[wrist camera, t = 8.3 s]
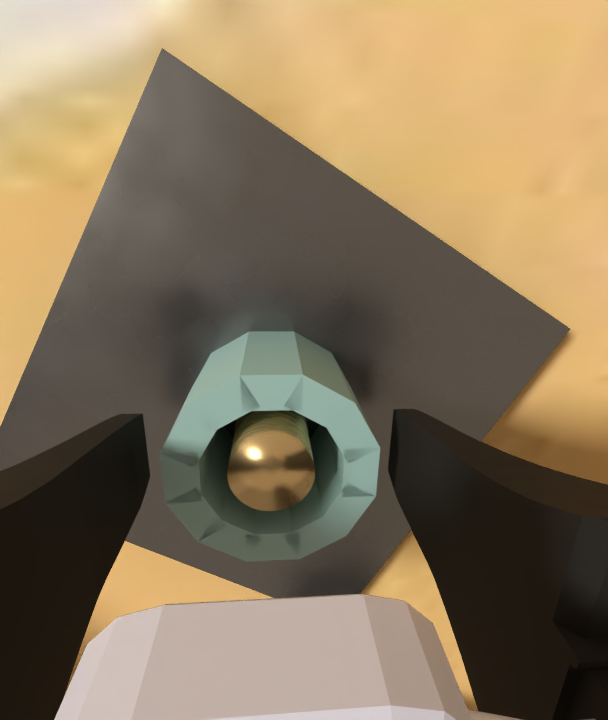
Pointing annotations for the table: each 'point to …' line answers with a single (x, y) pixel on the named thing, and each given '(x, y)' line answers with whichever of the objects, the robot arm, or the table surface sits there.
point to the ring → (213, 442)
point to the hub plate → (263, 320)
